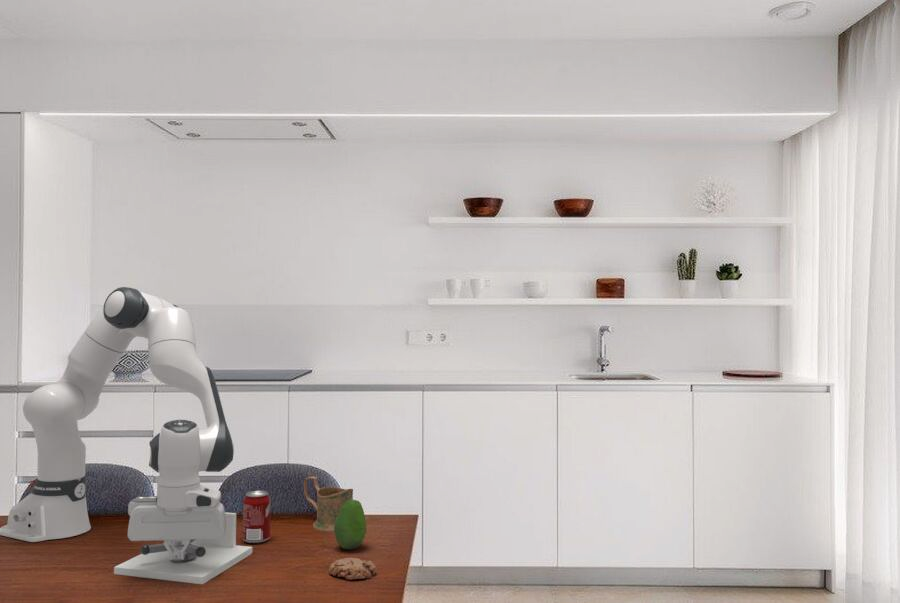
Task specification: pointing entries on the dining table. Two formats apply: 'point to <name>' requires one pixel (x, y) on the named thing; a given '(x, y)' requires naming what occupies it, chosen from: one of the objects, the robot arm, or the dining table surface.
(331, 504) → the tan ceramic pitcher
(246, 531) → the soda can
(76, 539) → the dining table surface
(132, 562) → the stand
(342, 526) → the fruit
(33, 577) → the dining table surface
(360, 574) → the cookie
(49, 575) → the dining table surface
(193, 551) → the capstan
